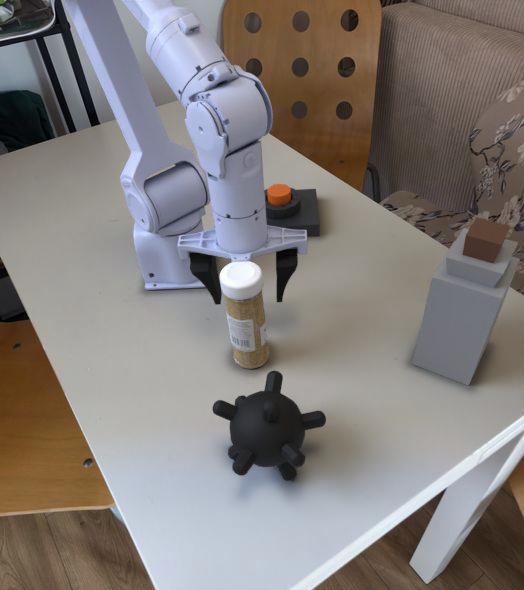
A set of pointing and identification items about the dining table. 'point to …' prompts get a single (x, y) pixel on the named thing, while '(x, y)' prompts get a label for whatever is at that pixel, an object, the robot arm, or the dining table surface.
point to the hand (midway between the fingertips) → (248, 298)
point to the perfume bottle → (466, 300)
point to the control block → (296, 212)
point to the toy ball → (267, 429)
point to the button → (279, 194)
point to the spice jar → (245, 313)
